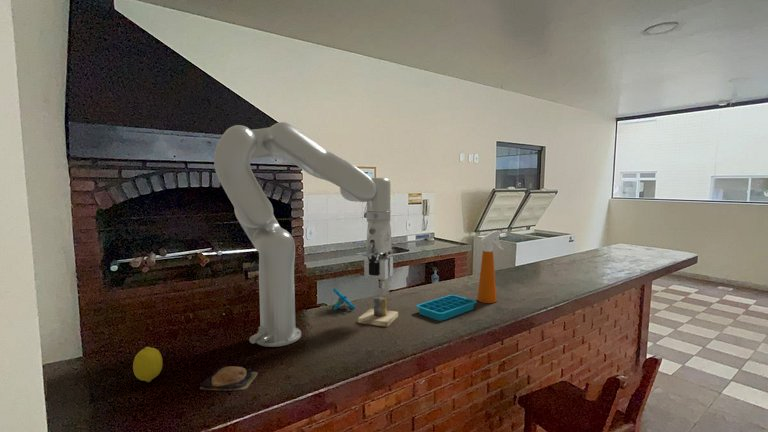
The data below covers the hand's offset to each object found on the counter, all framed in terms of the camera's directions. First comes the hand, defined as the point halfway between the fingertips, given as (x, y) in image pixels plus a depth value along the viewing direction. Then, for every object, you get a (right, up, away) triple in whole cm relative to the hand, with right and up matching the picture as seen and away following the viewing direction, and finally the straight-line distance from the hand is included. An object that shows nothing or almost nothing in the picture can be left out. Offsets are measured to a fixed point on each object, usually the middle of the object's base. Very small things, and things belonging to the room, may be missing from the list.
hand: (378, 272), depth 119 cm
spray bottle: (+42, -14, +22) cm, 49 cm away
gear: (-13, -15, +13) cm, 23 cm away
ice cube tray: (+23, -15, +10) cm, 30 cm away
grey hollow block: (0, -1, 0) cm, 1 cm away
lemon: (-50, -19, -36) cm, 65 cm away
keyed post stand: (0, -16, +2) cm, 16 cm away
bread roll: (-33, -19, -36) cm, 52 cm away
